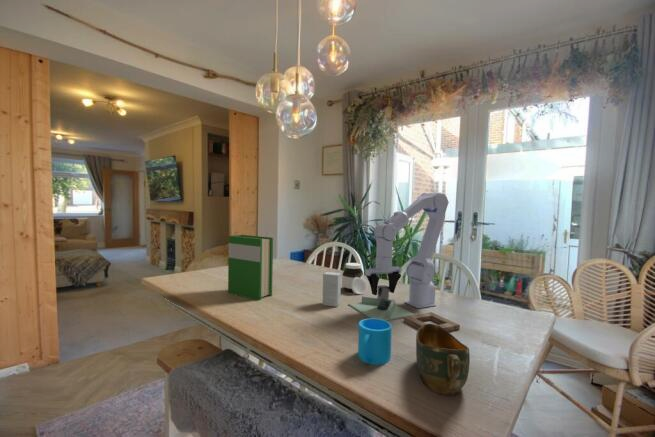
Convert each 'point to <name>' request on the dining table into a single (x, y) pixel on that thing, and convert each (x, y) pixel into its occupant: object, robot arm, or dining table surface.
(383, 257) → the robot arm
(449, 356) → the cup
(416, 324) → the brown square frame
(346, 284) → the spread jar
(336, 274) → the skincare box
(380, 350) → the mug
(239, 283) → the hardback book
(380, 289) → the metal axle
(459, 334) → the dining table surface
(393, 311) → the sage V-block
